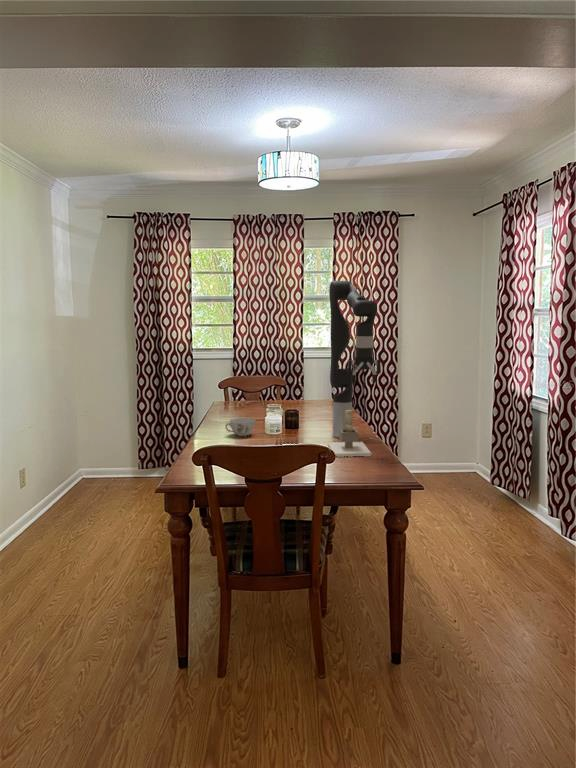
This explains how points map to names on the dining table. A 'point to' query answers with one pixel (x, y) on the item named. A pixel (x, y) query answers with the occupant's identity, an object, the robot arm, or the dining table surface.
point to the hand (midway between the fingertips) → (363, 383)
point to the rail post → (348, 421)
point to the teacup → (241, 426)
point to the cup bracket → (349, 445)
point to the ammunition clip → (287, 441)
